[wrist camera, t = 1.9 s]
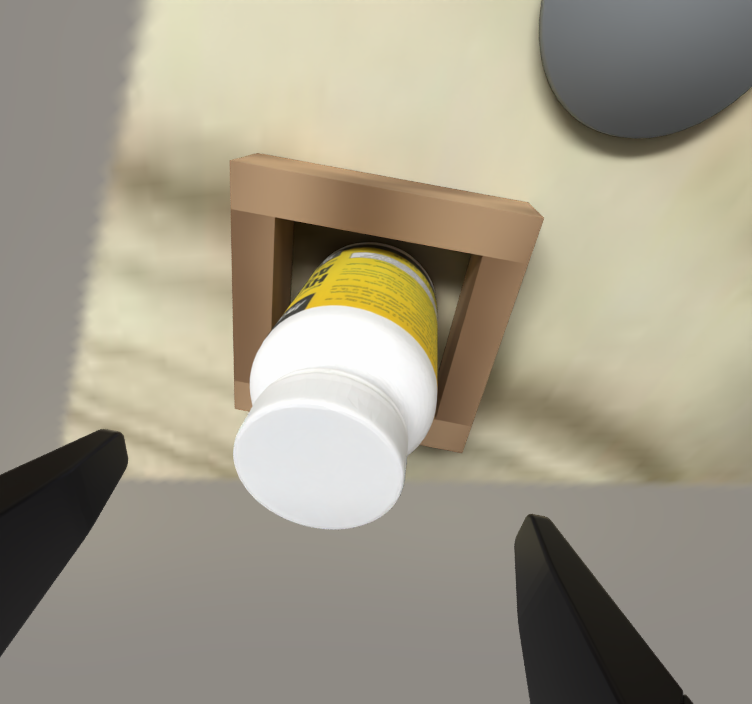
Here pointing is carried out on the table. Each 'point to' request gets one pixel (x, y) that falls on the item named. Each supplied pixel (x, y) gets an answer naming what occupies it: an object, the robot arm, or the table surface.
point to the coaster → (646, 61)
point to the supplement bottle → (343, 390)
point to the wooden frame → (390, 220)
